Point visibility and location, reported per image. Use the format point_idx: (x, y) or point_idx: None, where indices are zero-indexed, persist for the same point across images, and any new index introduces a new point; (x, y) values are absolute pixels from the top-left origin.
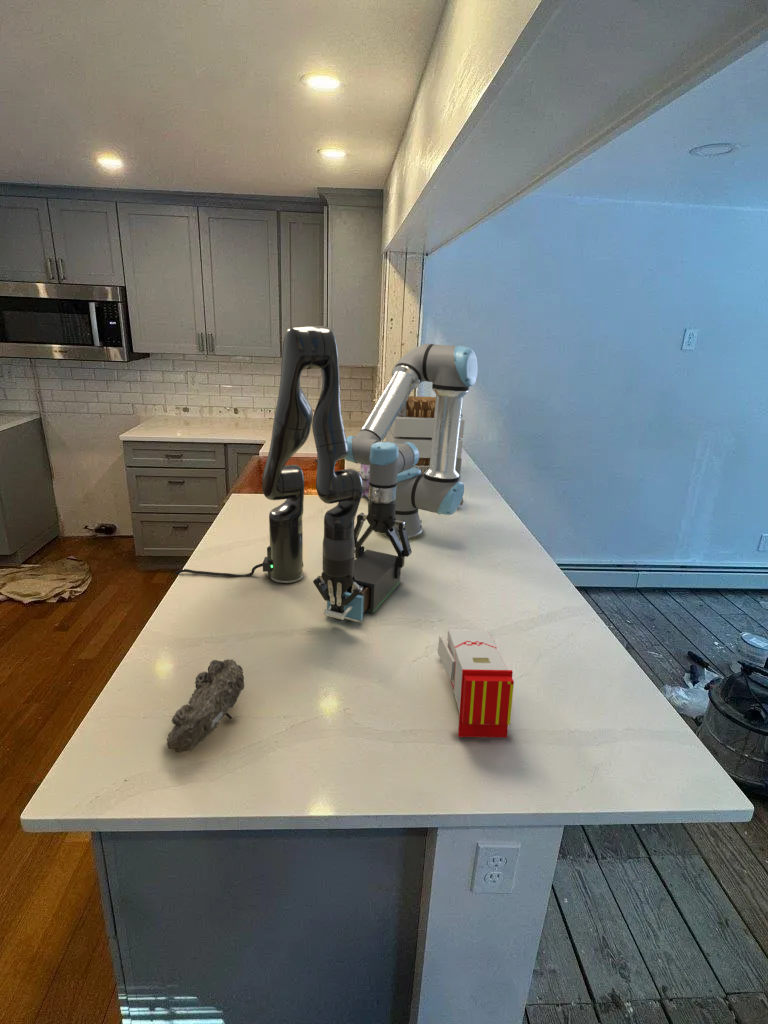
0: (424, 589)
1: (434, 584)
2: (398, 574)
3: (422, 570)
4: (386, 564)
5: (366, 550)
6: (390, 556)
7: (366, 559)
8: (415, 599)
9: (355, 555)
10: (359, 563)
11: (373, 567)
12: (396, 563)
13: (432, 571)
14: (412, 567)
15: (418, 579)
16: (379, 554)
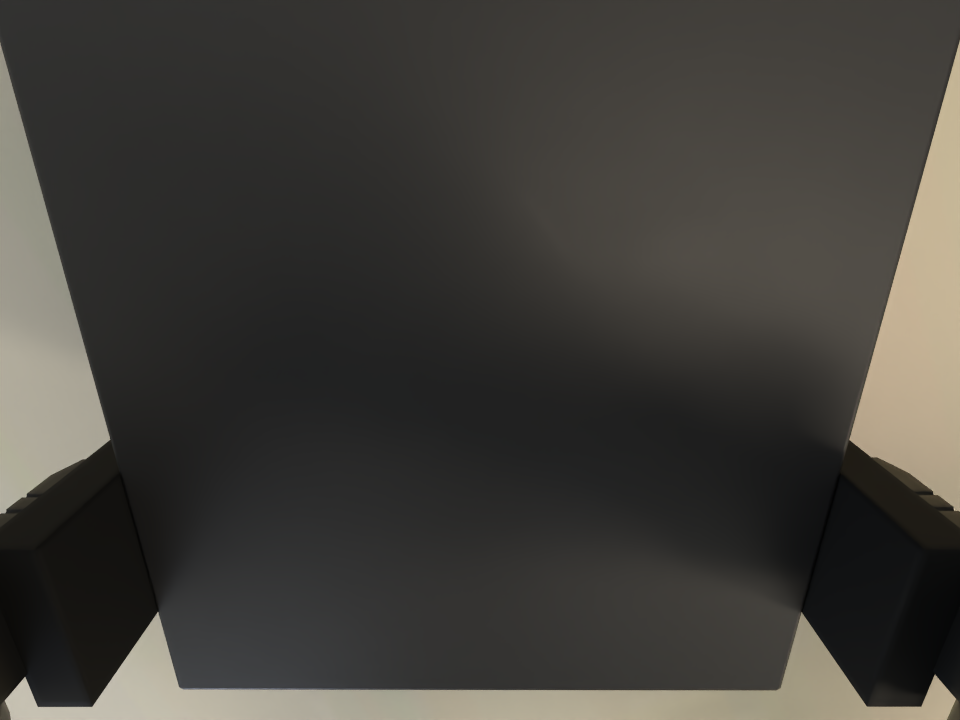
0: (77, 442)
1: None
2: None
3: (269, 696)
4: (209, 329)
5: (778, 661)
6: (326, 635)
7: (671, 356)
8: (24, 230)
9: (914, 481)
10: (763, 91)
11: (373, 39)
12: (104, 467)
13: (198, 709)
14: (356, 706)
15: None
16: (523, 626)
